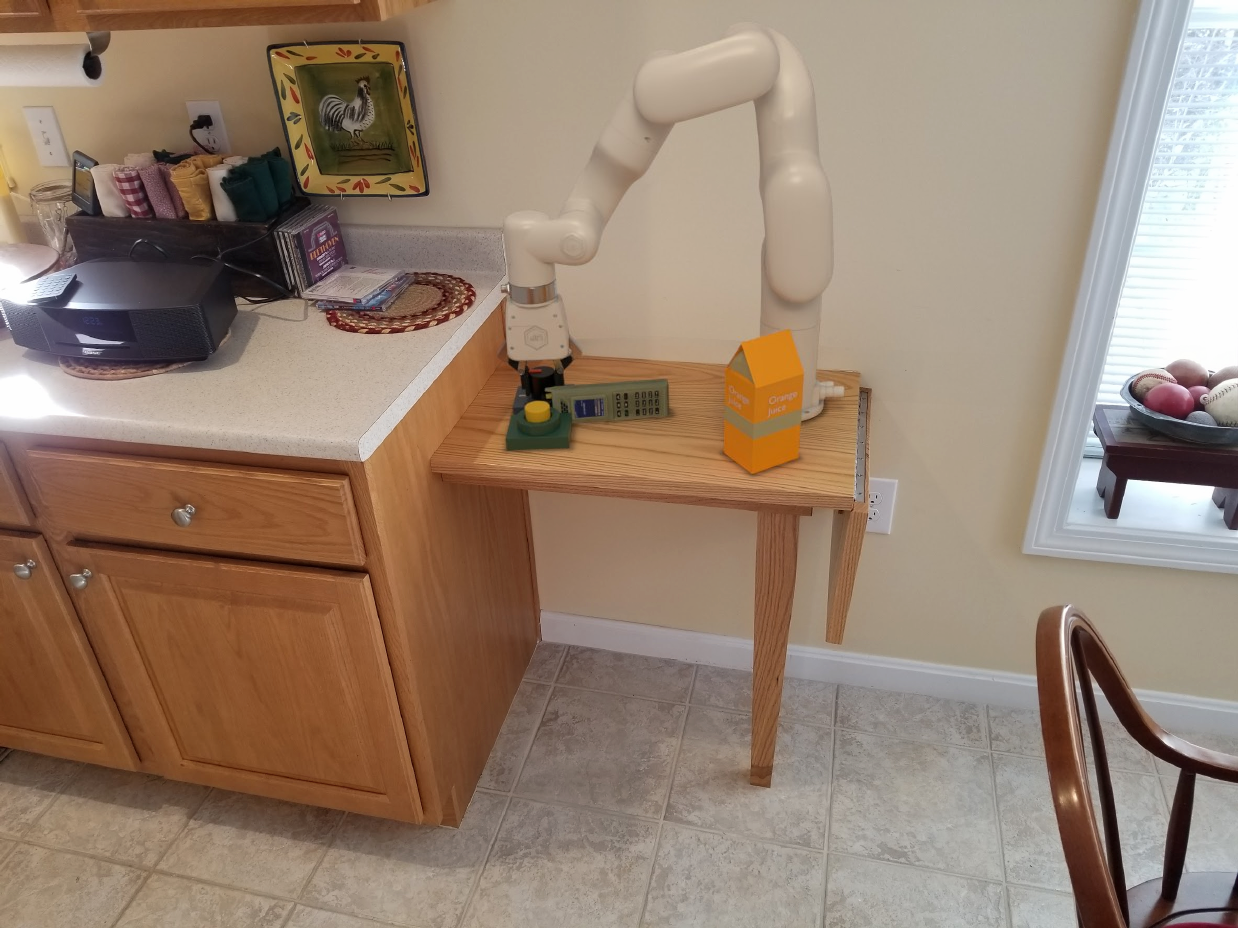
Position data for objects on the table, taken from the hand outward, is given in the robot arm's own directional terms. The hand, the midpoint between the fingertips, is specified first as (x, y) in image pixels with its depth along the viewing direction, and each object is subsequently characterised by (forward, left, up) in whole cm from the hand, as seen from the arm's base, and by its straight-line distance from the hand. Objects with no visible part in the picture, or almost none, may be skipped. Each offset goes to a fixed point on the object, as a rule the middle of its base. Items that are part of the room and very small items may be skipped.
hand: (543, 391), depth 155 cm
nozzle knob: (0, 0, -1) cm, 1 cm away
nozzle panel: (0, 0, -3) cm, 3 cm away
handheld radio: (-9, +4, -4) cm, 10 cm away
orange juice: (-35, +18, -4) cm, 40 cm away
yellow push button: (0, +10, 0) cm, 10 cm away
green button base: (0, +10, -3) cm, 11 cm away
